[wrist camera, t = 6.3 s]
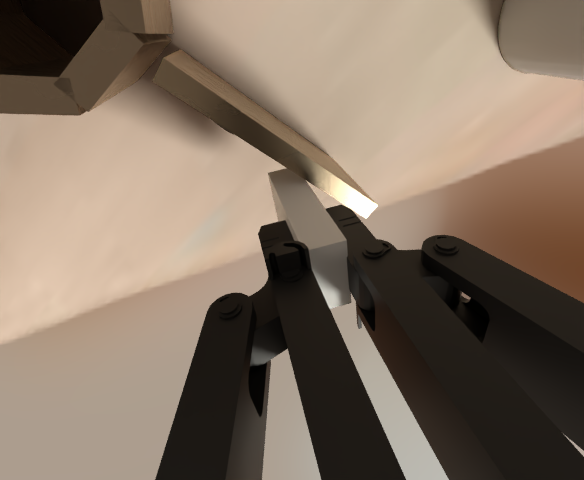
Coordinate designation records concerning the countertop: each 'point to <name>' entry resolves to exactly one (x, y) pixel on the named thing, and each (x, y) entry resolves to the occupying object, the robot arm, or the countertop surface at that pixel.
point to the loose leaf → (258, 128)
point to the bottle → (543, 37)
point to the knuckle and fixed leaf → (78, 58)
